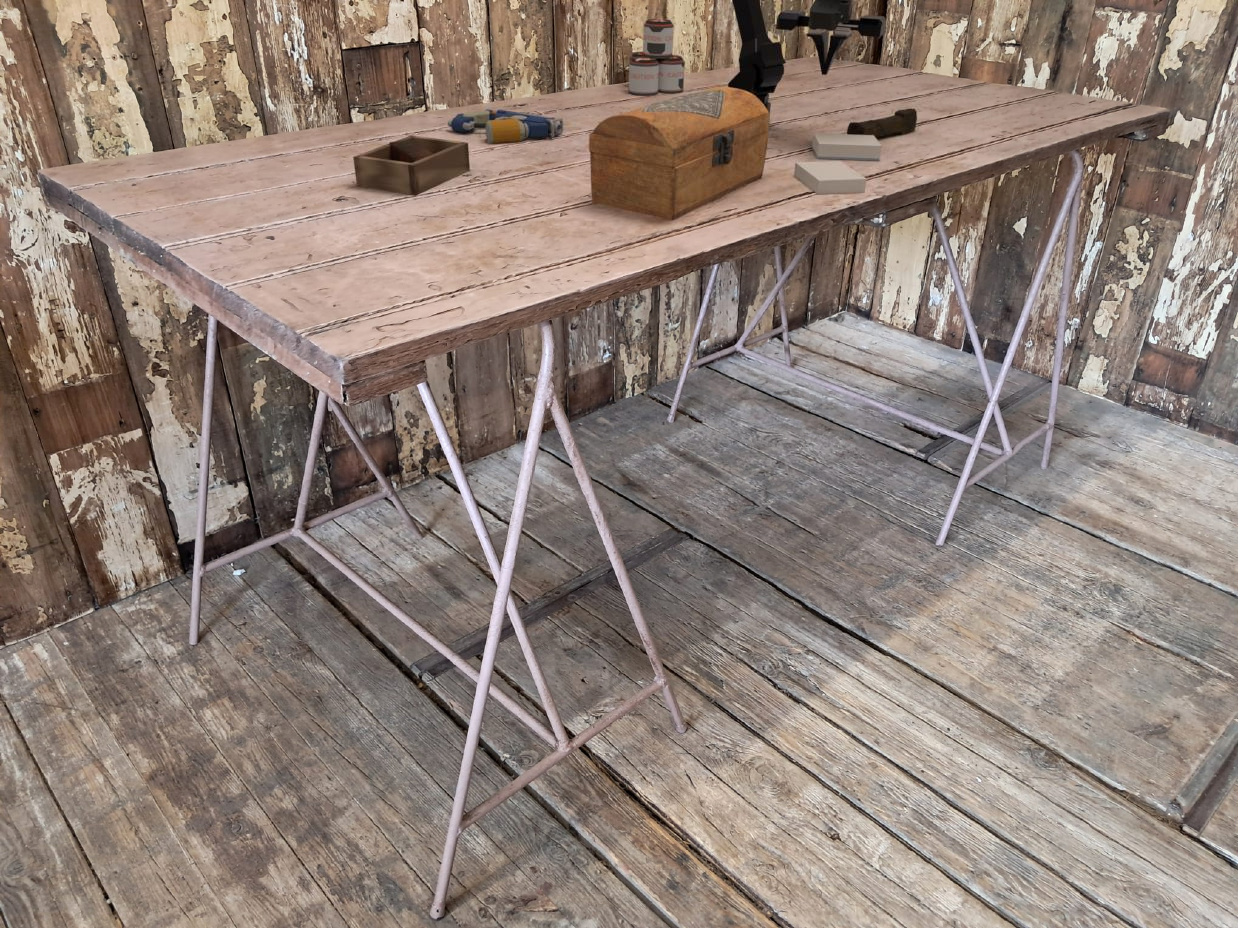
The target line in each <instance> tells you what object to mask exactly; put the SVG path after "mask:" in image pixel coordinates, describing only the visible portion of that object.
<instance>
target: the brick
mask: <svg viewBox="0 0 1238 928" xmlns="http://www.w3.org/2000/svg"><path fill="white" fill-rule="evenodd" d="M388 144H389V145H391V155H392V160H393V161H400V162H407V163H413V162H416V161H418V160H421V159H423V158H425V157H428V156H430V155H433V153H432V152H430V151H428V150H426V149H425V148H423V147H421V146H419V145H417V144H416V143H415V142H413V141H411V140H402V141H397V140H395V141H390V142H389V143H388Z"/></svg>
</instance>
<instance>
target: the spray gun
mask: <svg viewBox="0 0 1238 928" xmlns="http://www.w3.org/2000/svg"><path fill="white" fill-rule="evenodd" d="M447 126H448V127H450V128H451V129H452V131H454V132H458V133H463V134H464V133H468V132H469V133H471V132H476V131H479V130H485V136H486V141H487V142H488V143H489V144H507V143H508V144H509V143H520V142H522V141H523V140H524V139H526V138H528V137H531V138H543V137H548V136H549V137H550V138H551V139H554V138H555V136H557V135H560V134H562V133H563V132H564V119H563V118H562V117H559V118H558V117H557V118H555V117H549V116H544V115H537V114H532V113H526V112H525V113H524V112H516V111H512V110H505V109H497V110H496V109H492V108H487V109H485V110H479V111H467V112H466V111H465V112H464V113H457V114H456V116H454V117H453V118H452V120H448V121H447Z"/></svg>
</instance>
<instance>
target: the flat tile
mask: <svg viewBox="0 0 1238 928" xmlns="http://www.w3.org/2000/svg"><path fill="white" fill-rule="evenodd" d="M811 145H812V146H811V148H812V151H813V153H814V155H815V157H816V159H819V160H840V159H843V160H844V161H847V160H848V161H871V162H872V161H873V162H877V161H878V162H879V161H880V158H881V152H882V148H883V147H882V144H881V143H880V142H879V140H878V139H877V137H875V136H874V135H848V134H847V133H846V134H845V133H843V134H842V133H841V134H840V133H815V132H814V133H813V137H812V144H811ZM845 159H846V160H845Z"/></svg>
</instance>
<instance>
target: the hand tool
mask: <svg viewBox="0 0 1238 928" xmlns="http://www.w3.org/2000/svg"><path fill="white" fill-rule="evenodd" d="M917 120H918V114H917V110H916V109H915V108H906V109H899V110H896V111H895V112H894V114H893V115H890V116H887V117H882V118H877V119H869V120H866V121H860V122H854V121H853V122H850V123H849V124H848V126H847V130H846V134H848V135H874V136H875V138H878V137H879V138H880V137H883V136H888V135H892V134H895V135H899V136H903V135H907V134H909V133H912V132H913V131H915V130H916V128H917Z"/></svg>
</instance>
